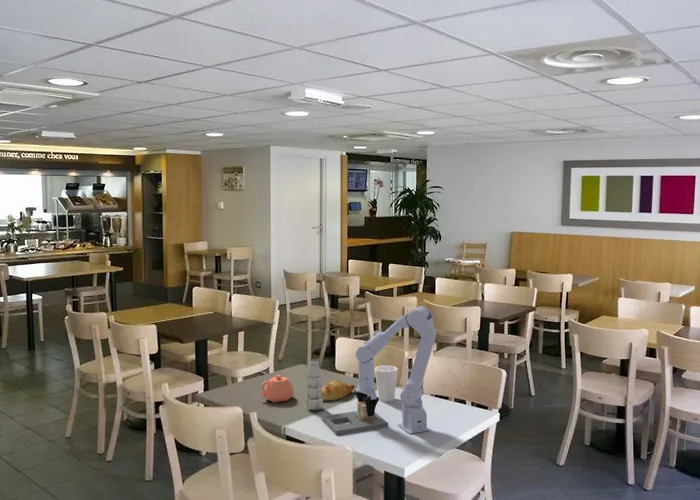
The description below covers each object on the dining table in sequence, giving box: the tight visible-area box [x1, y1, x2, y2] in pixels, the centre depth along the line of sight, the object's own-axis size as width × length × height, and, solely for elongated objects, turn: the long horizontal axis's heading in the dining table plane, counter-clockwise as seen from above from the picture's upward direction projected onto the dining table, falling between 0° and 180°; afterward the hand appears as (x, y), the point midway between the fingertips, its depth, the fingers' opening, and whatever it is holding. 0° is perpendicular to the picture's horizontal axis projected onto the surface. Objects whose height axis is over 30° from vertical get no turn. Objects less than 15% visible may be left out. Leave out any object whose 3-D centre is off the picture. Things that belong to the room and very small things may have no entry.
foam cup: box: [374, 365, 399, 403], centre depth 251 cm, size 10×9×13 cm
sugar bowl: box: [260, 374, 295, 404], centre depth 253 cm, size 12×14×10 cm
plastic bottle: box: [305, 358, 324, 411], centre depth 240 cm, size 6×7×20 cm
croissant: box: [321, 380, 356, 402], centre depth 256 cm, size 21×10×8 cm, turn 127°
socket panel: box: [321, 410, 389, 436], centre depth 225 cm, size 16×20×2 cm
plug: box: [356, 401, 376, 422], centre depth 226 cm, size 5×5×7 cm
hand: (366, 412), depth 226 cm, fingers open, 7 cm apart
